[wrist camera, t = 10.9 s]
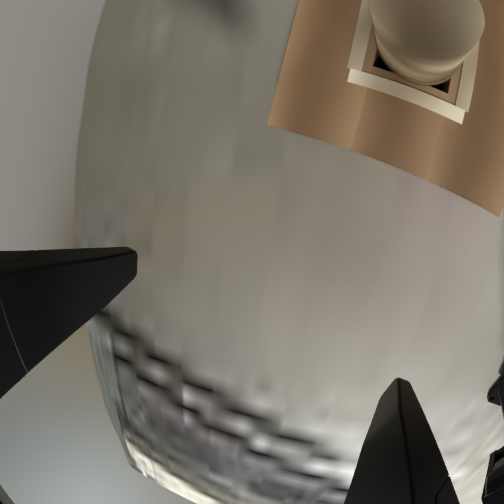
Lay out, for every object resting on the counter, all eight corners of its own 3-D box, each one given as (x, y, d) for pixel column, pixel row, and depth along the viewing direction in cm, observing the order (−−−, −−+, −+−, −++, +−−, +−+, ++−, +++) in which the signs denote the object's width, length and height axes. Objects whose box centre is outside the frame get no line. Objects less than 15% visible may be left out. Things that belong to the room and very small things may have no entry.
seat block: (517, 24, 8) (531, 9, 5) (483, 207, 14) (499, 217, 11) (327, -38, 12) (315, -61, 10) (284, 128, 18) (266, 125, 16)
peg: (454, 45, 11) (486, -18, 4) (442, 107, 13) (480, 74, 6) (384, 21, 13) (371, -55, 6) (371, 81, 15) (355, 28, 8)
